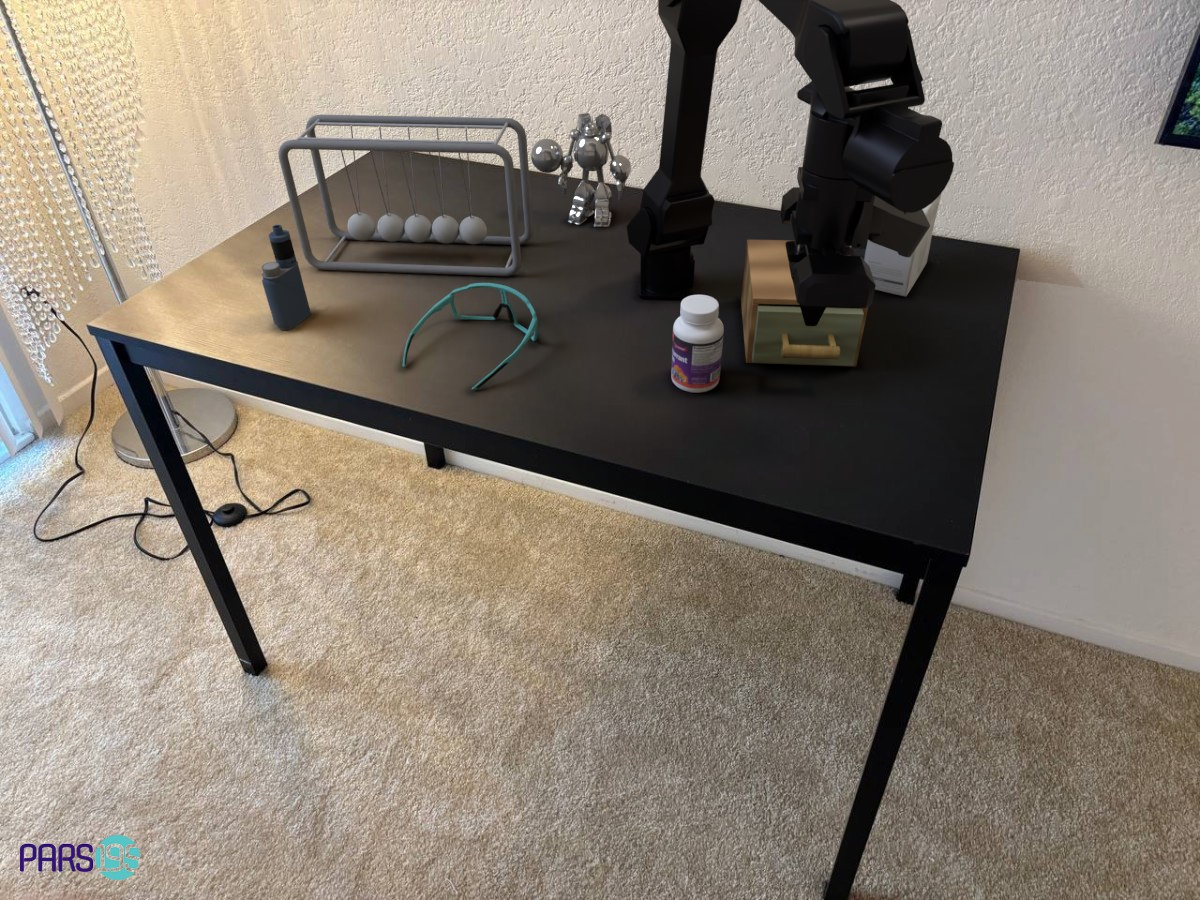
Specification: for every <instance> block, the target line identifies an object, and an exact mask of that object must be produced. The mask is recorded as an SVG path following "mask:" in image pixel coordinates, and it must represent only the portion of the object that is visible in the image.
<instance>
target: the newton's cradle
mask: <svg viewBox="0 0 1200 900" xmlns="http://www.w3.org/2000/svg"><path fill="white" fill-rule="evenodd" d="M316 126H321V127H322V126H325V127H326V126H328V127H348V128H347V129H346V130H345V131H344V132H343V133H342V134H341V135H340V136H339V137H317V135H316ZM523 126H524V125H522V124H521V123H520V122H519V121H518V120H516V119H514V118H509V117H472V116H422V115H421V116H417V115H415V116H414V115H372V114H371V115H369V114H368V115H365V114H364V115H363V114H361V115H360V114H315V115H313V116H311V117H309V119H308V120H307V122H306V124H305V131H304V132H302V133H301V134H300V135H299V136H298V137H297V138H296V139H287V140H286V141H284V142H283V143H282V144H280V146H279V149H278V160H279V164H280V168H281V172H282V176H283V180H284V184H285V187H286V193H287V196H288V199H289V204H290V207H291V212H292V215H293V219H294V222H295V227H296V231H297V234H298V239H299V242H300V247H301V250H302V254H303V256H304V259H305V261H306V262H307V263H308V264H309V265H310V266H311V267H313V268H315V269H318V270H322V271H344V272H345V271H346V272H373V273H375V272H376V273H377V272H378V273H398V274H399V273H403V274H428V275H429V274H430V275H456V276H481V277H482V276H483V277H511V276H513V275H515V274H516V273H517V272H519V270H520V268H521V266H522V253H521V245H525V244H526V243H528V242H529V241H530V240H531V239H532V237H533V235H534V234H533V233H534V225H533V224H534V223H533V211H532V210H533V209H532V196H531V183H530V182H531V181H530V170H529V169H530V168H529V167H530V166H529V155H528V154H529V153H528V139H527V133H526V130H525V127H523ZM353 127H371V128H372V127H373V128H374V127H377V128H376V129H375V130H374V132H373V133H372V134H371V135H370V136H369V137H368V138H354V134H353V132H354V131H353ZM382 128H406V129H404V130H403V132H402V133H401V135H399V137H398V139H397V138H396V139H394V138H383V137H382V130H381V129H382ZM410 128H425V129H428V128H429V129H434V130H433V131H432V133H431V135H429V137H428V139H411V134H410ZM507 128H509V129H512V130H513V131H514V132H515V133H516V136H517V143H518V144H517V145H518V158H519V159H518V160H519V169H520V171H519V172H520V184H521V195H522V209H523V221H524V232H523V234H522V235H521V236H520V229H519V228H520V227H519V217H518V216H519V215H518V205H517V204H518V203H517V193H516V180H515V168H514V167H515V166H514V161H513V156H512V155H511V153H510V152H509V151H508V149H506V148H505V146H502V145H499V142H500V140H501V139H502V137H503V135H504V133H505V132H506V129H507ZM439 129H464V130H463V131H462V133H461V135H460V136H459V138H458V139H457V140H450V139H449V140H448V139H447V140H444V139H443V140H442V139H441V140H440V139H439V138H440V137H439ZM468 129H471V130H472V129H474V130H475V129H477V130H478V129H479V130H482V129H483V130H500V132H499V133H498V136H497V138H496V139H495V141H494V140H493V141H491V140H489V141H488V140H468ZM349 130H350V134H351V137H350V138H348V137H343V135H345V134H346V133H347V132H348V131H349ZM377 131H379V137H380V138H372V137H373V135H374V134H375V133H376V132H377ZM405 132H407V134H408V135H407V136H408V139H401V138H402V136H403V135H404V134H405ZM435 132H436V137H437V139H431V137H432V136H433V135H434V133H435ZM464 133H465V140H460V139H461V137H462V136H463V134H464ZM291 150H309V151H310V155H311V159H312V163H313V168H314V172H315V176H316V180H317V185H318V189H319V194H320V197H321V202H322V207H323V210H324V215H325V219H326V223H327V226H328V229H329V231H330V232H331V233H332V234H333V235H334V236H336V237H337V238H339V239H340V240H339V242H338V243H337V245H336V246H335V247H334V248H333V250H332V251H331V252H330V254H329V255H328V256H327V257H326V259H325V260H324V261H323V260H320V259H318V258H316V257H315V256H314V254H313V251H312V247H311V243H310V240H309V235H308V231H307V227H306V223H305V219H304V216H303V213H302V208H301V204H300V200H299V199H300V198H299V196H298V192H297V187H296V184H295V180H294V179H295V178H294V175H293V172H292V168H291V163H290V160H289V152H290V151H291ZM320 151H340V152H341V156H342V157H341V158H342V161H343V164H344V169H345V172H346V175H347V179H348V183H349V188H350V191H351V194H352V199H353V203H354V205H355V206H354V207H355V210H356V213H354V214H351V216H350V217H349V219H348V220H347V231H345V230H342V229H340V228H339V227H338V225H337V223H336V219H335V214H334V210H333V205H332V201H331V197H330V193H329V188H328V184H327V180H326V179H327V178H326V175H325V170H324V165H323V162H322V157H321V153H320ZM343 151H352V154H353V164H354V173H355V182H356V183H355V185H356V192H357V201H356V198H355V195H354V191H353V186H352V183H351V179H350V174H349V172H348V171H349V170H348V168H347V164H346V160H345V156H344V152H343ZM356 151H359V152H361V151H362V152H370V156H371V161H372V163H373V167H374V170H375V174H376V178H377V182H378V186H379V189H380V193H381V197H382V200H383V204H384V208H385V212H386V213H385V214H384V215H382V216H381V217H380V218H379V220H378V222H377V225H376V223H375V221H374V219H373V218H372V216H370V215H369V214H367V213H365V212H362V211H361V203H360V202H361V201H360V193H359V182H358V173H357V172H358V171H357V163H356V153H355V152H356ZM373 152H381V155H382V165H383V172H384V181H385V191H386V199H387V203H386V201H385V200H386V199H385V197H384V193H383V189H382V185H381V182H380V178H379V174H378V170H377V167H376V163H375V159H374V155H373ZM384 152H398V153H399V156H400V159H401V164H402V168H403V173H404V176H405V180H406V185H407V189H408V194H409V198H410V202H411V206H412V210H413V215H410V216H409V217H408V218H407V219H406V221H405V222H404V220H403V219H402V217H400V215H397V214H395V213H391V208H390V199H389V190H388V183H387V172H386V165H385V155H384ZM402 152H405V153H410V165H411V175H412V184H413V194H414V202H413V198H412V194H411V193H412V192H411V189H410V185H409V181H408V177H407V172H406V168H405V164H404V160H403V156H402ZM412 153H428V155H429V159H430V165H431V169H432V174H433V179H434V183H435V188H436V192H437V193H436V194H437V197H438V202H439V207H440V212H441V215H440V216H438V217H436V218H435V219H434V221H433V222H432V223H431V220H430V219H429V218H427V217H426V216H425V215H423V214H419V213H418V204H417V196H416V195H417V193H416V186H415V185H416V184H415V175H414V174H415V173H414V164H413V154H412ZM431 153H438V163H439V173H440V183H441V184H440V187H441V196H442V203H441V198H440V193H439V187H438V183H437V178H436V174H435V173H436V172H435V168H434V163H433V160H432V159H433V158H432V154H431ZM441 153H445V154H446V153H449V154H458V157H459V163H460V169H461V175H462V180H463V186H464V191H465V196H466V201H467V208H468V213H469V216H467V217H465V218H464V219H463V220H461V222H460V224H459V223H458V221H457V220H456V219H455V218H454V217H452V216H450V215H446V213H445V212H446V209H445V198H444V187H443V186H444V185H443V174H442V164H441V163H442V161H441ZM461 154H466V156H467V170H468V185H469V197H468V190H467V185H466V180H465V174H464V169H463V164H462V157H461ZM469 154H489V155H490V154H491V155H492V154H493V155H497V156H498V157H500V158H501V159H502V161H503V166H504V178H505V189H506V199H507V200H506V202H507V212H508V222H509V224H508V225H509V233H510V236H501V235H500V236H499V235H498V236H497V235H487V233H488V229H487V225H486V223H485V222H484V220H483V219H482V218H480V217H478V216H475V215H474V214H473V213H474V212H473V200H472V185H471V172H470V156H469ZM469 198H470V199H469ZM469 201H470V202H469ZM357 203H358V206H357ZM414 203H415V204H414ZM386 204H387V205H386ZM414 205H415V206H414ZM376 228H377V229H376ZM376 230H377V232H376ZM345 240H351V241H360V242H361V241H362V242H364V241H379V242H380V241H381V242H390V243H393V242H410V243H413V242H414V243H417V244H419V243H438V244H439V243H441V244H469V245H477V244H478V245H503V246H511V252H510V254H509V257H508V260H507V261H506V265H505V266H504V267H495V266H494V267H492V266H490V267H489V266H466V265H465V266H463V265H462V266H461V265H435V264H434V265H433V264H408V263H407V264H404V263H380V262H379V263H378V262H376V263H375V262H351V261H350V262H349V261H330V260H331V259H332V258H333V256H335V253H336V252H337V251H338V249H339V248H340V247H341V246H342V244H343V243H344V241H345ZM511 262H512V263H511Z"/></svg>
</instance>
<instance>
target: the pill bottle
mask: <svg viewBox="0 0 1200 900" xmlns="http://www.w3.org/2000/svg"><path fill="white" fill-rule="evenodd" d="M679 309H680V310H679V313H680V314H679V316H678V317H677V318H676V319H675V321H674V323H673V327H672V348H671V369H670V370H671V372H670V373H671V374H670V375H671V377H670V378H671V381H672V383H673V384H674V385H675V386H676V387H677V388H678V389H680V390H681V391H685V392H687V393H694V394H696V393H697V394H698V393H706V392H709V391H711V390H713V389H715V388H716V387H717V386H718V384H719V382H720V377H721V367H722V357H723V347H724V345H723V344H724V335H725V334H724V333H725V327H724V326H725V325H724V324H723V322H722V320H721V318H719V314H720V311H719V310H720V305H719V301H718V300H717V299H716V298H714V297H713V296H710V295H706V294H692V295H690V296H688V297H686V298H684V299H681V301H680V308H679Z"/></svg>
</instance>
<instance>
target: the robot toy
mask: <svg viewBox="0 0 1200 900" xmlns="http://www.w3.org/2000/svg"><path fill="white" fill-rule="evenodd" d="M577 117H578V118H577V120H576V124H577V125H576V127H575V128H573V129H571V130H570V132H569V136H570V138H571V140H570V143H569V148H568V151H567V154H565V155H564V151H563V148H562V146H561V145H560V144H559V143H558V142H557V141H556V140H554V139H551V138H542V139H540V140H538V141H536V142H535V144H534V145H533V146H532V148H531V152H530V160H531V163H532V165H533V166H534V168H535V169H537V170H538V171H539V172H541V173H545V174H551V173H554V172H556V171H557V170H558V169H560V170H561V172H560V173H559V176H558V183H557V185H558V186H559V187H560V191H561V193H562V194H563V195H565V196H566V195H567V179H568V177H569V173H570V172H571V171H572V169H573V167H574V162H575V163H577V165H578V166H579V167H580V168H582V175H581V181H580V182H579V184H578V185H577V187H576V189H575V191H574V194H573V198H572V206H571V209H570V211H569V213H568V220H567V222H568V223H569V224H573V225H577V226H580V225H582V224H583V223H585V222H586V221H587V220H588V218H589V217H591V216H593V215H594V224H593V227H594V228H598V227H599V228H600V227H601V228H602V227H603V228H607V227H610V224H611V222H612V212H611V211H610V205H611V202H612V201H613V196H612V195H613V194H612V190H611V188H610V187H609V186H608V185H606V184H605V175H604V166H605V165H607V163H608V161H609V156H610V163H609V172H611V175H612V177H613V179H614V180H615V183H616V185H615V186H616V188H617V191H618V193H617V194H618V197H617V198H618V200H617V201H622V200H623V196H624V194H625V189H626V181H628V178H629V177H630V175H631V173H632V172H631V171H632V164H631V163H632V162H631V161H630V160H629V159H628V158H627V157H626V156H625V155H622V154H616V155H615V153H614V149H613V145H612V142H611V140H612V138H613V136H612V135H613V127H612V126H613V125H612V122H611V119H610V116H608V115H606V114H604V113H600V114H599V115H597V116H596V117H594V116H593V115H592V116H591V114H590V113H589V112H585V113H579V114H578V115H577ZM594 118H595V119H594ZM594 121H595V122H594ZM572 155H573V156H572ZM590 172H596V179H597V187H596V188H595V189H594V187H593V186H592V185H591V184H589V179H590ZM593 201H594V210H593V209H592V208H591V206H590V205H591V204H592V202H593Z"/></svg>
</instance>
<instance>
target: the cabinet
mask: <svg viewBox="0 0 1200 900" xmlns="http://www.w3.org/2000/svg"><path fill="white" fill-rule="evenodd" d="M787 241H795V239H794V240H789V239H787V240H786V239H785V240H784V239H746V245H745V254H744V255H745V256H744V264H743V266H744V267H743V274H742V275H743V277H742V286H741V296H740V306H741V307H740V308H741V317H742V330H743V341H744V343H743V344H744V355H745V363H746V364H754V363H753V361H752V353H753V344H754V336H755V327H756V318H757V309H758V306H759V304H782V305H799V303H797V301H796V295H795V290H794V284H793V280H792V278H791V273H790V267H789V260H788V257H787V251H786V246H785V243H786V242H787ZM850 247H851V246H850ZM858 309H863V313H864V316H863V321H862V326H861V331H860V336H859V341H858V346H857V351H856V356H855V361H854V365H853V366H852V367H857V365H858V359H859V355H860V349H861V344H862V341H863V335H864V329H865V325H866V320H867V315H868V311H869V306H868V307H867V308H858ZM763 364H765V365H766V364H769V365H782V364H781V363H763ZM795 365H796V366H799V365H800V366H803V365H804V366H813V365H812V364H794V366H795ZM826 366H828V367H829V366H831V367H844V366H843V365H825V367H826Z"/></svg>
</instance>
